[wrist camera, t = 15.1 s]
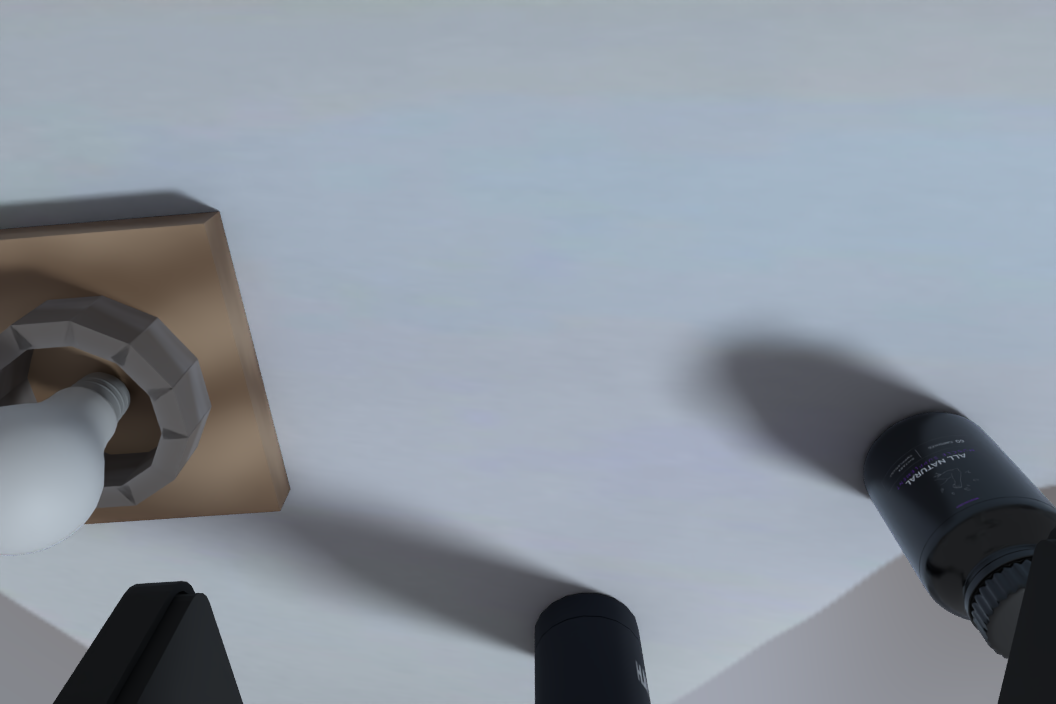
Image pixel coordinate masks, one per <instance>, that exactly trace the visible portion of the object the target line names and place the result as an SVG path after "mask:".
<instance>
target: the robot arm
mask: <svg viewBox="0 0 1056 704" xmlns="http://www.w3.org/2000/svg"><path fill="white" fill-rule="evenodd" d="M53 704H243V702H242V699H241V696H240V693H239V690H238V687H237V684H236V681H235V678H234V675H233V672H232V669H231V666H230V663H229V660H228V657H227V654H226V651H225V648H224V645H223V642H222V639H221V636H220V633H219V630H218V627H217V624H216V621H215V618H214V615H213V611H212V608H211V605H210V602H209V600H208V598H207V596H206V595H204V594H203V593H195V592H194V590H193V588H192V586H191V585H190V584H189V583H188V582H184V581H177V582H161V583H145V584H135V585H133V586H131V587H130V588H129V589H128V590H127V591H126V592H125V594H124V595H123V597H122V598H121V600H120V601H119V603H118V604H117V606H116V607H115V609H114V610H113V612H112V614H111V615H110V617H109V618H108V620H107V621H106V623H105V624H104V626H103V627H102V629H101V630H100V632H99V634H98V635H97V637H96V638H95V640H94V641H93V643H92V644H91V646H90V647H89V649H88V650H87V652H86V654H85V655H84V657H83V658H82V660H81V661H80V663H79V664H78V666H77V667H76V669H75V671H74V672H73V674H72V675H71V677H70V678H69V680H68V682H67V683H66V684H65V686H64V687H63V689H62V690H61V692H60V694H59V695H58V697H57V698H56V700H55V701H54V703H53ZM998 704H1056V527H1055V528H1054V529H1053V530H1052V531H1051V532H1050V534H1049V536H1048V539H1047V540H1041V541H1040V542H1039V543H1038V544H1037V545H1036V547H1035V550H1034V554H1033V558H1032V562H1031V566H1030V570H1029V575H1028V579H1027V583H1026V587H1025V591H1024V595H1023V600H1022V604H1021V608H1020V612H1019V616H1018V621H1017V625H1016V629H1015V633H1014V637H1013V642H1012V646H1011V650H1010V654H1009V658H1008V663H1007V667H1006V671H1005V675H1004V679H1003V683H1002V688H1001V692H1000V696H999V700H998Z"/></svg>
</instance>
